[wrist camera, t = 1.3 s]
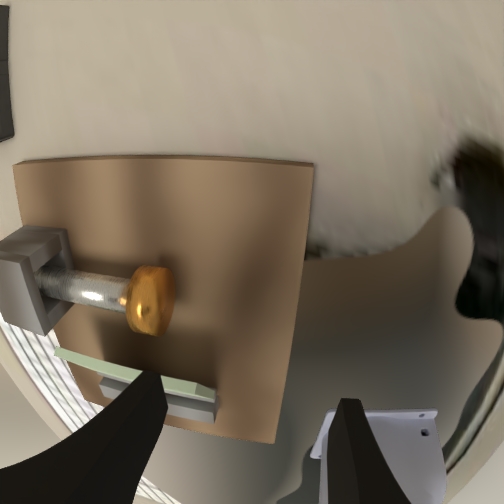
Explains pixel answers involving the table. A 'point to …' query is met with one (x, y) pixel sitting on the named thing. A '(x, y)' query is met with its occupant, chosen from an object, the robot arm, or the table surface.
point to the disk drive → (4, 79)
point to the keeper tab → (130, 374)
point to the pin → (116, 294)
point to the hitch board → (182, 267)
